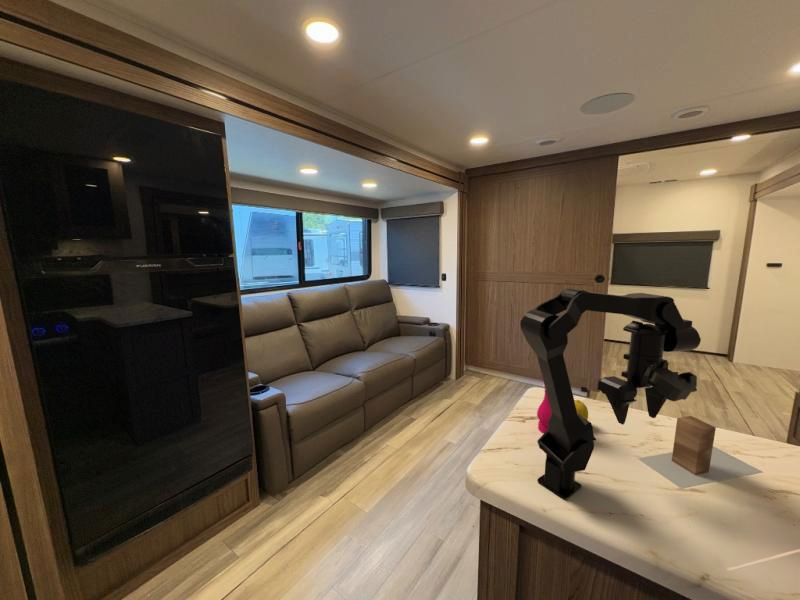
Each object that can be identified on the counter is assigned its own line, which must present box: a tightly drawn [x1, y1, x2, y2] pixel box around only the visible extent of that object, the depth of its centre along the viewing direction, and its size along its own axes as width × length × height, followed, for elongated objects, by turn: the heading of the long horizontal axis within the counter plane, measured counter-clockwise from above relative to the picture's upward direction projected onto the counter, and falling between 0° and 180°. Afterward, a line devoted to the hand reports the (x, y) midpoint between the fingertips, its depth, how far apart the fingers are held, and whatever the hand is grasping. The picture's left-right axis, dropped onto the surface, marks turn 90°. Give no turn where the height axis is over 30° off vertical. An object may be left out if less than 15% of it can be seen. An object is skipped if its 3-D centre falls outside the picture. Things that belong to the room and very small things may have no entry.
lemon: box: [574, 399, 589, 420], centre depth 91 cm, size 6×6×8 cm
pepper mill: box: [536, 376, 552, 434], centre depth 88 cm, size 7×7×20 cm
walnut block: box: [672, 415, 717, 475], centre depth 73 cm, size 4×5×11 cm
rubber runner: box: [636, 445, 763, 489], centre depth 74 cm, size 23×10×1 cm, turn 102°
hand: (636, 420), depth 70 cm, fingers open, 9 cm apart
